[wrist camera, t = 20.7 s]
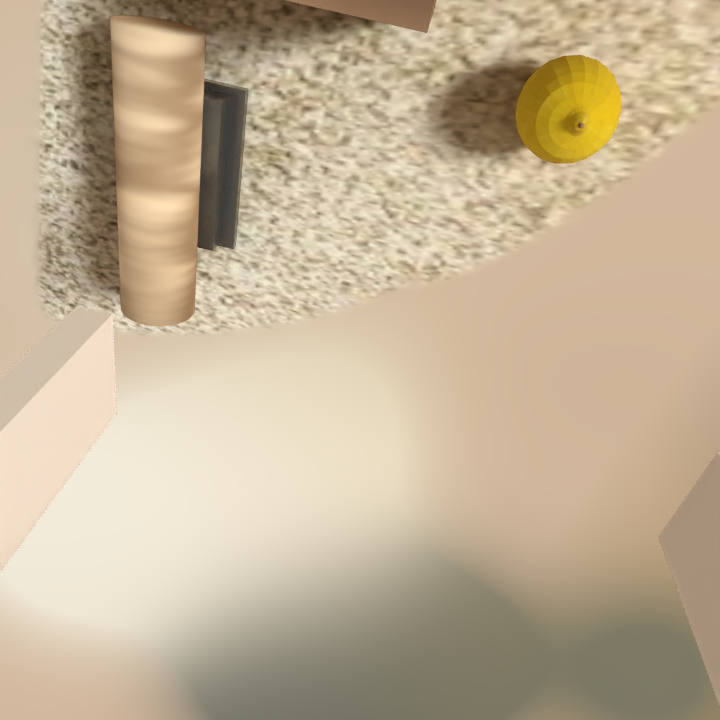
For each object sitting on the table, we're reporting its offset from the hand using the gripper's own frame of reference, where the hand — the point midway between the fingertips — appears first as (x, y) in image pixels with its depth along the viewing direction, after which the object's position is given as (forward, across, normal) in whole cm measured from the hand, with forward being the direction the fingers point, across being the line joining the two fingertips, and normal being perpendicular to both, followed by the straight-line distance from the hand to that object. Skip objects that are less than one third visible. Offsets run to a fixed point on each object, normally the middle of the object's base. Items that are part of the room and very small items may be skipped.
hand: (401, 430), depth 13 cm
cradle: (+31, -16, -6) cm, 35 cm away
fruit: (+31, +7, +3) cm, 32 cm away
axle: (+28, -15, -6) cm, 33 cm away
